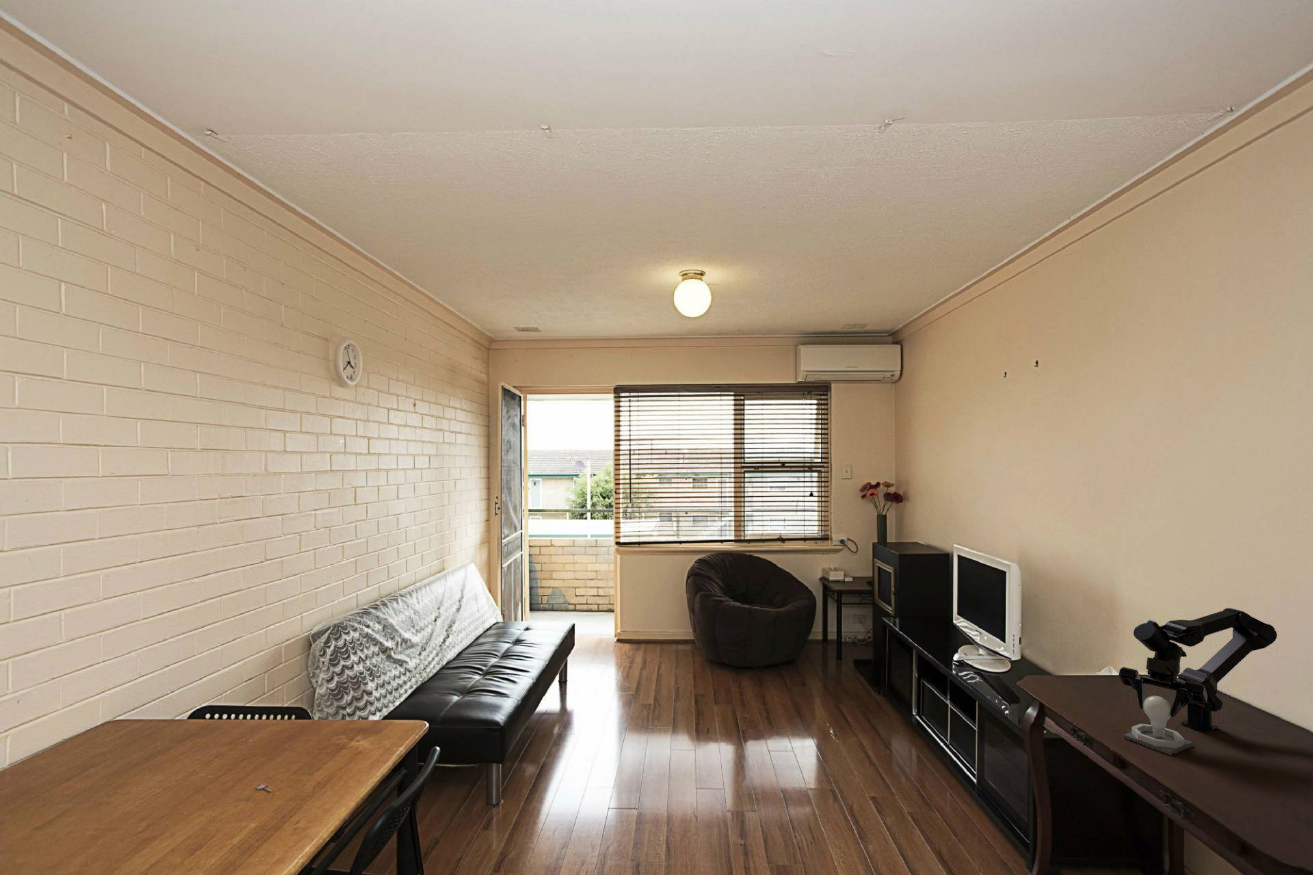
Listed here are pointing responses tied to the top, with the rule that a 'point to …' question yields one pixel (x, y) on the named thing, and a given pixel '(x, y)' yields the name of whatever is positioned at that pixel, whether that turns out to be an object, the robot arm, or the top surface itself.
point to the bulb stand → (1158, 739)
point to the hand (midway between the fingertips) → (1156, 712)
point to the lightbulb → (1157, 714)
